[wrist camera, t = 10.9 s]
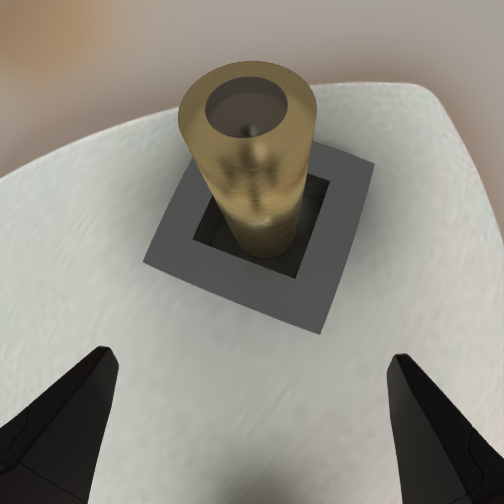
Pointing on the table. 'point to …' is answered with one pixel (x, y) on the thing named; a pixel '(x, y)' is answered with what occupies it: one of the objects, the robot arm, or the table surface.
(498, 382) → the table surface
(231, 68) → the brass sleeve
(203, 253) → the jig block
